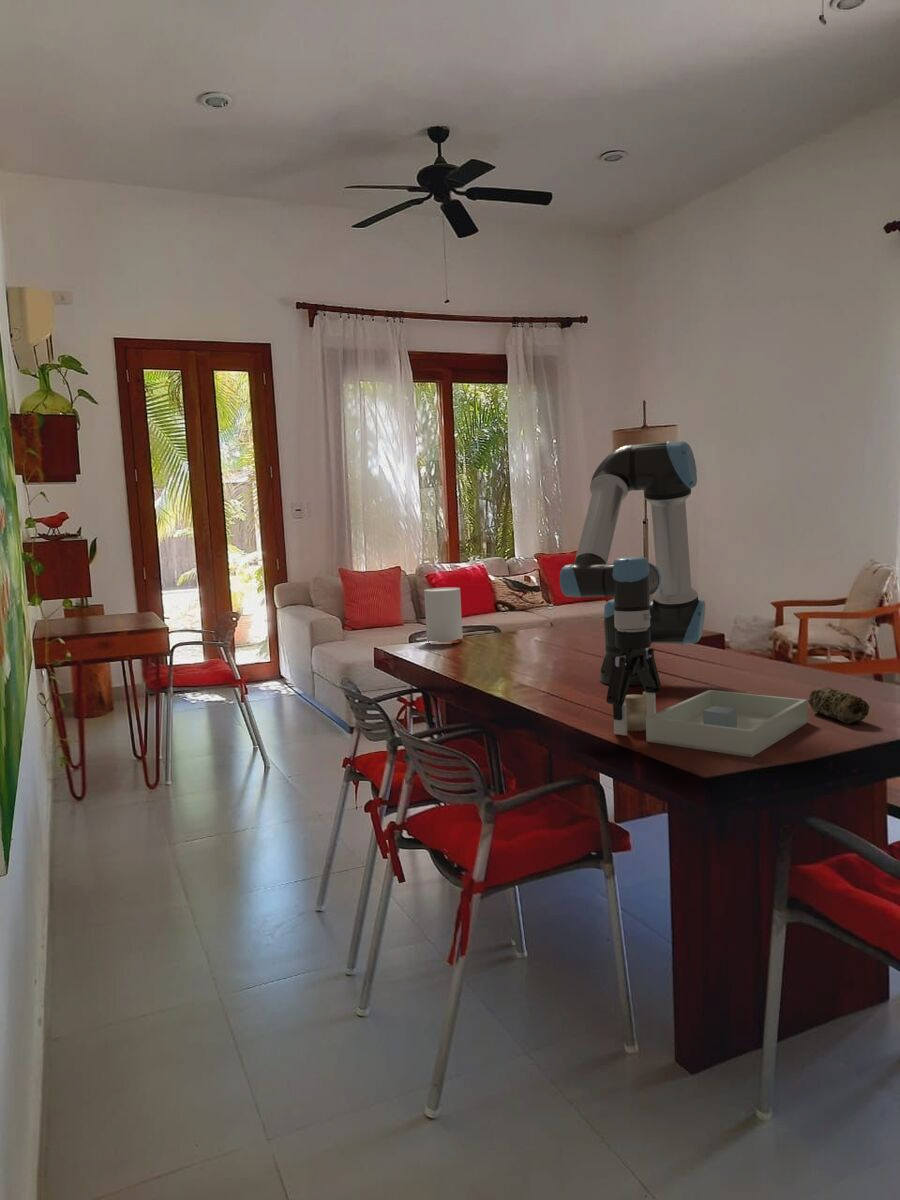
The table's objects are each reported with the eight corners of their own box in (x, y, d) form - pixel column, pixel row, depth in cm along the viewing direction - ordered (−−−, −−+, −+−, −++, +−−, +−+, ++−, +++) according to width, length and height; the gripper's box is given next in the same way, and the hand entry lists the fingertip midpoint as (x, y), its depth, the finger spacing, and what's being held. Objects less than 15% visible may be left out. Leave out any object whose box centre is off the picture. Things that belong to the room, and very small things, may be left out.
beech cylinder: (619, 729, 188) (618, 698, 187) (631, 724, 192) (630, 693, 191) (640, 732, 184) (639, 700, 184) (651, 727, 188) (650, 695, 187)
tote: (646, 741, 177) (645, 717, 177) (710, 711, 200) (709, 689, 199) (751, 757, 163) (751, 731, 162) (807, 722, 185) (807, 699, 185)
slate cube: (714, 729, 182) (713, 705, 181) (737, 732, 178) (736, 708, 178) (703, 734, 178) (703, 710, 178) (726, 737, 175) (726, 713, 174)
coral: (805, 712, 194) (805, 686, 193) (829, 710, 195) (829, 683, 195) (846, 728, 180) (846, 699, 179) (872, 725, 181) (872, 696, 180)
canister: (455, 645, 317) (452, 590, 315) (421, 644, 322) (418, 591, 320) (467, 639, 330) (465, 587, 328) (435, 639, 334) (432, 587, 332)
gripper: (619, 638, 174) (622, 742, 176) (674, 622, 192) (677, 717, 194) (587, 636, 179) (590, 738, 181) (644, 621, 197) (647, 714, 199)
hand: (635, 727), depth 188 cm, fingers open, 12 cm apart
